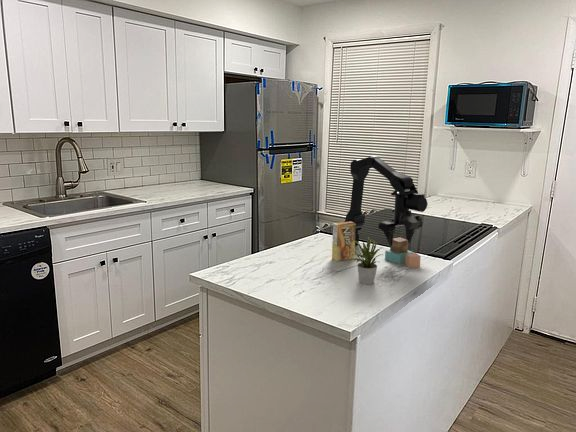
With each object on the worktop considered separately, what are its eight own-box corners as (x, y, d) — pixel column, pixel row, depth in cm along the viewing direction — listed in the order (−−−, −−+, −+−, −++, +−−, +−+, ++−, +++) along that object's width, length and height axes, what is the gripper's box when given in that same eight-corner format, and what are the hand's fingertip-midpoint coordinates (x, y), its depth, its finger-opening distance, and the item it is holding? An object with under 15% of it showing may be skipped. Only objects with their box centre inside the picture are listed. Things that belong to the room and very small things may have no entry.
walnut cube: (398, 253, 180) (398, 241, 179) (390, 250, 184) (390, 238, 183) (407, 251, 182) (408, 240, 181) (399, 248, 186) (400, 237, 185)
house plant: (345, 272, 168) (346, 231, 164) (382, 274, 166) (384, 232, 163) (346, 287, 154) (347, 242, 150) (386, 288, 153) (388, 243, 149)
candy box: (349, 255, 189) (350, 220, 185) (354, 258, 185) (356, 223, 182) (331, 258, 185) (332, 223, 181) (337, 261, 181) (337, 225, 178)
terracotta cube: (408, 267, 174) (409, 256, 173) (404, 263, 179) (405, 253, 178) (419, 267, 175) (420, 256, 174) (415, 263, 179) (416, 252, 178)
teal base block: (399, 264, 178) (400, 255, 177) (384, 259, 185) (385, 250, 184) (412, 261, 183) (413, 252, 182) (398, 256, 189) (398, 247, 188)
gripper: (397, 213, 168) (394, 252, 171) (433, 209, 176) (430, 246, 179) (378, 208, 177) (376, 245, 181) (414, 204, 186) (411, 239, 189)
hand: (399, 244), depth 182 cm, fingers open, 9 cm apart
